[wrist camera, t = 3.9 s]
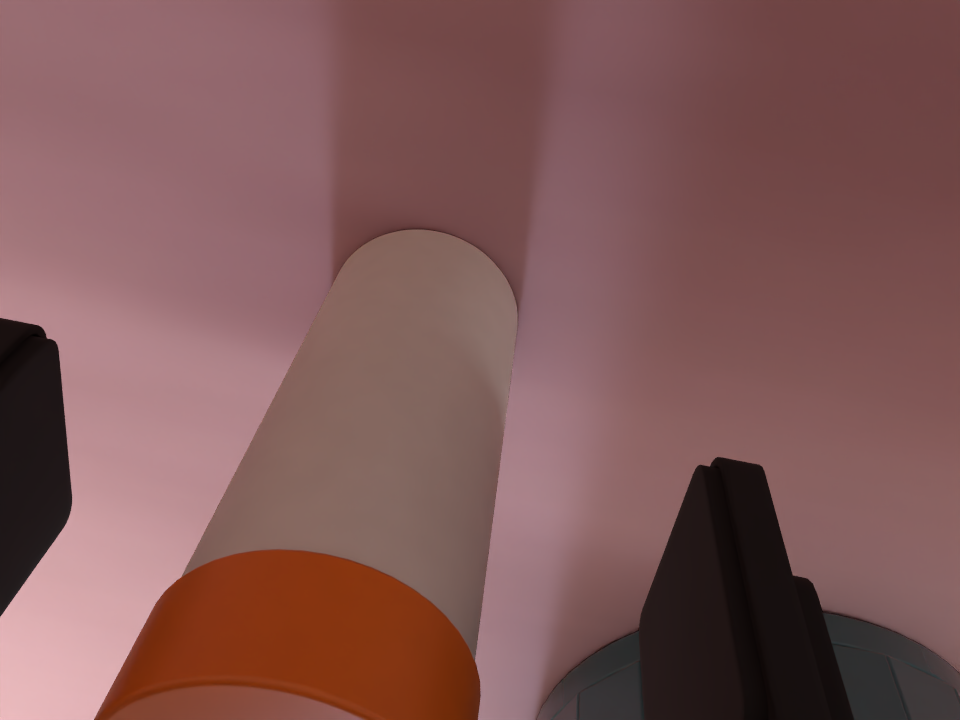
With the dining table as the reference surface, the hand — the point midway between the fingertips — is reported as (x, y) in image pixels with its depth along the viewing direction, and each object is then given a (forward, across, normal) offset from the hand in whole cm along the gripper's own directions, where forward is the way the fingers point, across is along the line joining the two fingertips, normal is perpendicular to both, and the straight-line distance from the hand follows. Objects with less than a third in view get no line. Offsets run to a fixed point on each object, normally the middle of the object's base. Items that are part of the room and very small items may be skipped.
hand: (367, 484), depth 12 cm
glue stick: (+4, 0, 0) cm, 4 cm away
